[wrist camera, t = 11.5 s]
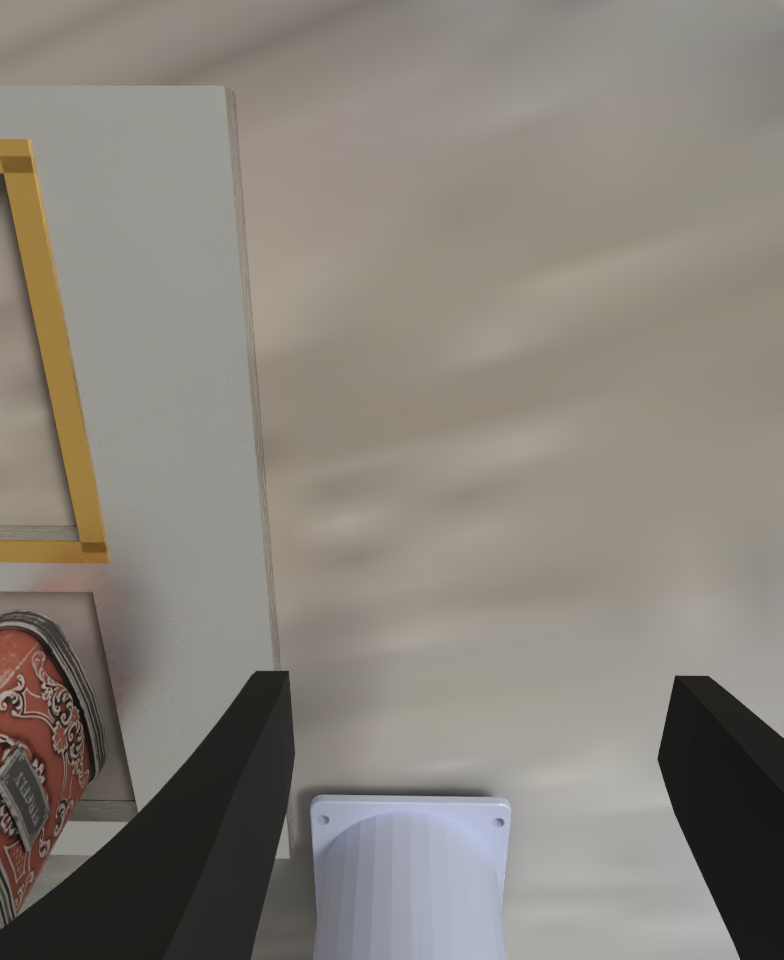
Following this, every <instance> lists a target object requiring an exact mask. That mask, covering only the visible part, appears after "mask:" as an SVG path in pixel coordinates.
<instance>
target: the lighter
mask: <svg viewBox="0 0 784 960" xmlns="http://www.w3.org/2000/svg"><path fill="white" fill-rule="evenodd" d="M106 756H107V751H106V743H105V735H104V726H103V722H102V718H101V715H100V711H99V707H98V704H97V700H96V696H95V693H94V691H93V688H92V686H91V684H90V682H89V680H88V677H87V675H86V673H85V671H84V669H83V666H82V664H81V662H80V660H79V658H78V656H77V655H76V653H75V651H74V650H73V648H72V647H71V645H70V643H69V642H68V640H67V638H66V637H65V635H64V633H63V632H62V630H61V628H60V627H59V626H58V625H57V624H56V623H55V621H54V620H53V619H51V618H49V617H48V616H46V615H44V614H43V613H39V612H36V611H32V610H21V609H18V610H13V611H9V612H6V613H4V614H3V615H1V616H0V929H2V928H3V927H4V926H6V925H7V924H8V923H10V922H11V921H12V920H14V919H15V918H16V917H17V914H18V912H19V910H20V909H21V907H22V905H23V903H24V901H25V899H26V897H27V896H28V894H29V892H30V890H31V888H32V886H33V884H34V883H35V881H36V879H37V877H38V875H39V873H40V871H41V870H42V868H43V866H44V864H45V862H46V860H47V858H48V857H49V855H50V853H51V851H52V849H53V847H54V845H55V844H56V842H57V840H58V838H59V836H60V834H61V832H62V831H63V829H64V827H65V825H66V823H67V821H68V819H69V818H70V816H71V814H72V812H73V810H74V808H75V806H76V805H77V803H78V801H79V799H80V797H81V795H82V793H83V792H84V790H85V788H86V786H88V785H90V784H92V783H93V781H94V780H95V779H96V778H97V776H98V774H99V772H100V770H101V768H102V767H103V765H104V763H105V761H106Z"/></svg>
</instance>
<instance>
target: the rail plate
mask: <svg viewBox="0 0 784 960" xmlns="http://www.w3.org/2000/svg"><path fill="white" fill-rule="evenodd" d="M0 174H4V177H5V182H6V187H7V192H8V196H9V201H10V206H11V211H12V216H13V220H14V225H15V230H16V235H17V240H18V244H19V249H20V254H21V259H22V264H23V268H24V273H25V278H26V283H27V288H28V292H29V297H30V302H31V307H32V312H33V316H34V321H35V326H36V331H37V336H38V340H39V345H40V350H41V355H42V360H43V364H44V369H45V374H46V379H47V384H48V388H49V393H50V398H51V403H52V408H53V412H54V417H55V422H56V427H57V432H58V436H59V441H60V446H61V451H62V456H63V460H64V465H65V470H66V475H67V480H68V484H69V489H70V494H71V499H72V504H73V508H74V513H75V518H76V523H77V527H68V526H0V591H17V592H93V597H94V602H95V606H96V611H97V616H98V621H99V626H100V631H101V635H102V640H103V645H104V650H105V655H106V660H107V664H108V669H109V674H110V679H111V684H112V688H113V693H114V698H115V703H116V708H117V713H118V717H119V722H120V727H121V732H122V737H123V742H124V746H125V751H126V756H127V761H128V766H129V771H130V775H131V780H132V785H133V790H134V795H135V800H136V801H78V803H77V805H76V806H75V808H74V810H73V812H72V814H71V816H70V818H69V819H68V821H67V823H66V825H65V827H64V829H63V831H62V832H61V834H60V836H59V838H58V840H57V842H56V844H55V845H54V847H53V849H52V851H51V853H50V855H94V854H95V853H96V852H97V851H98V850H99V849H101V848H102V847H103V846H104V845H105V844H106V843H107V842H109V841H110V840H111V839H112V838H113V837H114V836H115V835H116V834H117V833H118V832H119V831H120V830H121V829H122V828H123V827H124V826H125V825H126V824H127V823H128V822H130V821H131V820H132V819H133V818H134V817H135V816H136V815H137V814H138V813H139V812H140V811H141V810H142V809H143V808H144V807H145V805H146V804H147V803H148V802H149V801H150V800H151V799H152V798H153V797H154V796H155V795H156V794H157V793H158V792H159V791H160V790H161V789H162V787H163V786H164V785H165V784H166V783H167V782H168V781H169V780H170V778H171V777H172V776H173V775H174V774H175V773H176V772H177V771H178V769H179V768H180V767H181V766H182V765H183V764H184V763H185V762H186V760H187V759H188V758H189V757H190V756H191V755H192V753H193V752H194V751H195V750H196V748H197V747H198V746H199V745H200V743H201V742H202V741H203V740H204V738H205V737H206V736H207V735H208V733H209V732H210V731H211V730H212V728H213V727H214V726H215V725H216V723H217V722H218V721H219V719H220V718H221V717H222V715H223V714H224V713H225V711H226V710H227V709H228V707H229V706H230V705H231V703H232V702H233V701H234V699H235V698H236V696H237V695H238V694H239V692H240V691H241V689H242V688H243V687H244V685H245V684H246V682H247V681H248V679H249V678H250V676H251V675H252V674H253V673H254V672H256V671H280V661H279V649H278V636H277V624H276V611H275V599H274V586H273V574H272V561H271V549H270V536H269V524H268V511H267V499H266V486H265V474H264V461H263V449H262V436H261V424H260V411H259V399H258V386H257V374H256V361H255V349H254V336H253V324H252V311H251V299H250V286H249V274H248V261H247V249H246V236H245V224H244V212H243V199H242V187H241V174H240V162H239V149H238V137H237V124H236V112H235V99H234V92H233V91H232V90H230V89H229V88H227V87H225V86H0ZM293 838H294V836H293V824H292V811H291V799H290V794H289V801H288V808H287V812H286V816H285V820H284V824H283V828H282V832H281V836H280V840H279V844H278V848H277V852H276V856H275V858H286V859H290V855H291V849H292V844H293Z"/></svg>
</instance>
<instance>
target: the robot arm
mask: <svg viewBox="0 0 784 960" xmlns="http://www.w3.org/2000/svg"><path fill="white" fill-rule="evenodd" d="M294 757H295V748H294V735H293V721H292V708H291V694H290V681H289V671H256V672H254V673H253V674H252V675H251V676H250V678H249V679H248V681H247V682H246V684H245V685H244V687H243V688H242V689H241V691H240V692H239V694H238V695H237V696H236V698H235V699H234V701H233V702H232V703H231V705H230V706H229V707H228V709H227V710H226V711H225V713H224V714H223V715H222V717H221V718H220V719H219V721H218V722H217V723H216V725H215V726H214V727H213V728H212V730H211V731H210V732H209V733H208V735H207V736H206V737H205V738H204V740H203V741H202V742H201V743H200V745H199V746H198V747H197V748H196V750H195V751H194V752H193V753H192V755H191V756H190V757H189V758H188V759H187V760H186V762H185V763H184V764H183V765H182V766H181V767H180V768H179V769H178V771H177V772H176V773H175V774H174V775H173V776H172V777H171V778H170V780H169V781H168V782H167V783H166V784H165V785H164V786H163V787H162V789H161V790H160V791H159V792H158V793H157V794H156V795H155V796H154V797H153V798H152V799H151V800H150V801H149V802H148V803H147V804H146V805H145V807H144V808H143V809H142V810H141V811H140V812H139V813H138V814H137V815H136V816H135V817H134V818H133V819H132V820H131V821H130V822H128V823H127V824H126V825H125V826H124V827H123V828H122V829H121V830H120V831H119V832H118V833H117V834H116V835H115V836H114V837H113V838H112V839H111V840H110V841H109V842H107V843H106V844H105V845H104V846H103V847H102V848H101V849H99V850H98V851H97V852H96V853H95V854H94V855H93V856H92V857H90V858H89V859H88V860H87V861H86V862H85V863H84V864H83V865H81V866H80V867H79V868H78V869H77V870H76V871H75V872H73V873H72V874H71V875H70V876H69V877H67V878H66V879H65V880H64V881H63V882H61V883H60V884H59V885H58V886H56V887H55V888H54V889H53V890H52V891H50V892H49V893H48V894H46V895H45V896H44V897H42V898H41V899H40V900H38V901H37V902H36V903H35V904H33V905H32V906H31V907H29V908H28V909H27V910H25V911H24V912H23V913H21V914H20V915H19V916H17V917H16V918H15V919H14V920H12V921H11V922H10V923H8V924H7V925H6V926H4V927H3V928H2V929H0V960H250V959H251V955H252V950H253V945H254V941H255V936H256V932H257V928H258V924H259V920H260V916H261V912H262V908H263V904H264V900H265V896H266V892H267V888H268V884H269V880H270V876H271V872H272V868H273V864H274V860H275V856H276V852H277V848H278V844H279V840H280V836H281V832H282V828H283V824H284V820H285V816H286V812H287V808H288V801H289V794H290V787H291V780H292V772H293V765H294ZM658 762H659V766H660V769H661V772H662V776H663V779H664V782H665V785H666V789H667V792H668V795H669V798H670V801H671V804H672V807H673V810H674V813H675V815H676V818H677V820H678V822H679V825H680V827H681V829H682V831H683V834H684V836H685V838H686V840H687V842H688V845H689V847H690V849H691V851H692V853H693V856H694V858H695V860H696V862H697V864H698V867H699V869H700V871H701V873H702V875H703V877H704V880H705V882H706V884H707V886H708V888H709V890H710V893H711V895H712V897H713V899H714V901H715V904H716V906H717V908H718V910H719V912H720V914H721V917H722V919H723V921H724V923H725V925H726V927H727V930H728V932H729V934H730V936H731V938H732V940H733V943H734V945H735V948H736V950H737V952H738V955H739V957H740V960H784V738H783V737H781V736H780V735H779V734H778V733H777V732H775V731H774V730H773V729H772V728H771V727H769V726H768V725H767V724H766V723H765V722H763V721H762V720H761V719H760V718H759V717H758V716H756V715H755V714H754V713H753V712H752V711H750V710H749V709H748V708H747V707H746V706H744V705H743V704H742V703H741V702H740V701H739V700H737V699H736V698H735V697H734V696H733V695H731V694H730V693H729V692H728V691H727V690H725V689H724V688H723V687H722V686H720V685H719V684H718V683H717V682H715V681H714V680H713V679H712V678H710V677H709V676H675V679H674V684H673V689H672V693H671V698H670V703H669V707H668V712H667V717H666V722H665V726H664V731H663V736H662V740H661V745H660V750H659V754H658ZM322 815H323V816H322ZM310 817H311V833H312V848H313V864H314V879H315V895H316V910H317V927H316V936H315V944H314V953H313V960H508V953H507V945H506V938H505V931H504V924H503V917H502V899H503V890H504V880H505V870H506V860H507V850H508V841H509V831H510V821H511V808H510V803H509V802H508V800H506V799H504V798H501V797H457V796H387V795H318V796H316V797H314V798H313V799H312V801H311V807H310ZM496 818H499V819H496Z"/></svg>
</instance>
